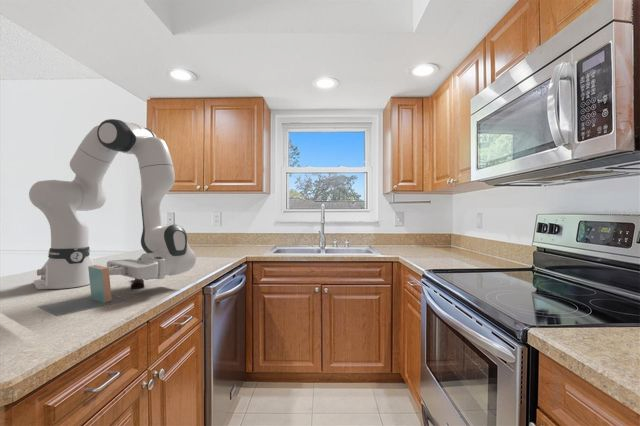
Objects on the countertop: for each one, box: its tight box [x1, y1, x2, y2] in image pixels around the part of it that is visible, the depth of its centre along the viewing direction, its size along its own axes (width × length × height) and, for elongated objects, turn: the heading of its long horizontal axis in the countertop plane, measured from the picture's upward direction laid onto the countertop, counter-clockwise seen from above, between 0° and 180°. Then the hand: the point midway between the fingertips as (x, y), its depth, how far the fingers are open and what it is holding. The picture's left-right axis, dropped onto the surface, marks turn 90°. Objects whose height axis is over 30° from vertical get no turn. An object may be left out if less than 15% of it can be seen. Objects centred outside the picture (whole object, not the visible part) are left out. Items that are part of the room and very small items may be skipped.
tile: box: [88, 264, 112, 303], centre depth 95 cm, size 8×2×10 cm, turn 58°
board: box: [37, 293, 130, 317], centre depth 92 cm, size 14×18×2 cm
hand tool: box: [130, 278, 145, 290], centre depth 118 cm, size 19×4×5 cm, turn 26°
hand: (104, 272), depth 95 cm, fingers closed
